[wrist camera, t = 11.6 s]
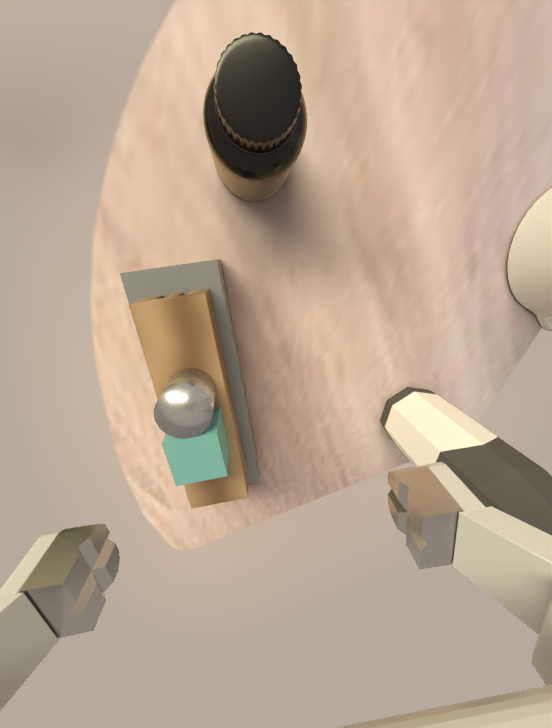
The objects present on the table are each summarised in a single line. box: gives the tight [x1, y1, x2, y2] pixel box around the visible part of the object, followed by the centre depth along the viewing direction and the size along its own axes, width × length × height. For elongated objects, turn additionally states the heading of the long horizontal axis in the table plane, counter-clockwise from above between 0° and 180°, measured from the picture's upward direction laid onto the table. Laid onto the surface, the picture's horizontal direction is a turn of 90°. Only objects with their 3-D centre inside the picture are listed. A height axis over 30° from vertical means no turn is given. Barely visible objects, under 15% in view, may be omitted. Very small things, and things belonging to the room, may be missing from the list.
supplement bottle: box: [203, 32, 307, 201], centre depth 21 cm, size 7×7×12 cm
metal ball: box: [154, 368, 216, 439], centre depth 22 cm, size 4×4×4 cm
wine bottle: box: [380, 387, 552, 535], centre depth 24 cm, size 8×8×30 cm
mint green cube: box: [162, 407, 229, 486], centre depth 24 cm, size 4×4×4 cm
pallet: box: [129, 289, 248, 508], centre depth 27 cm, size 6×20×4 cm, turn 8°
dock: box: [120, 260, 259, 485], centre depth 31 cm, size 8×24×5 cm, turn 8°
